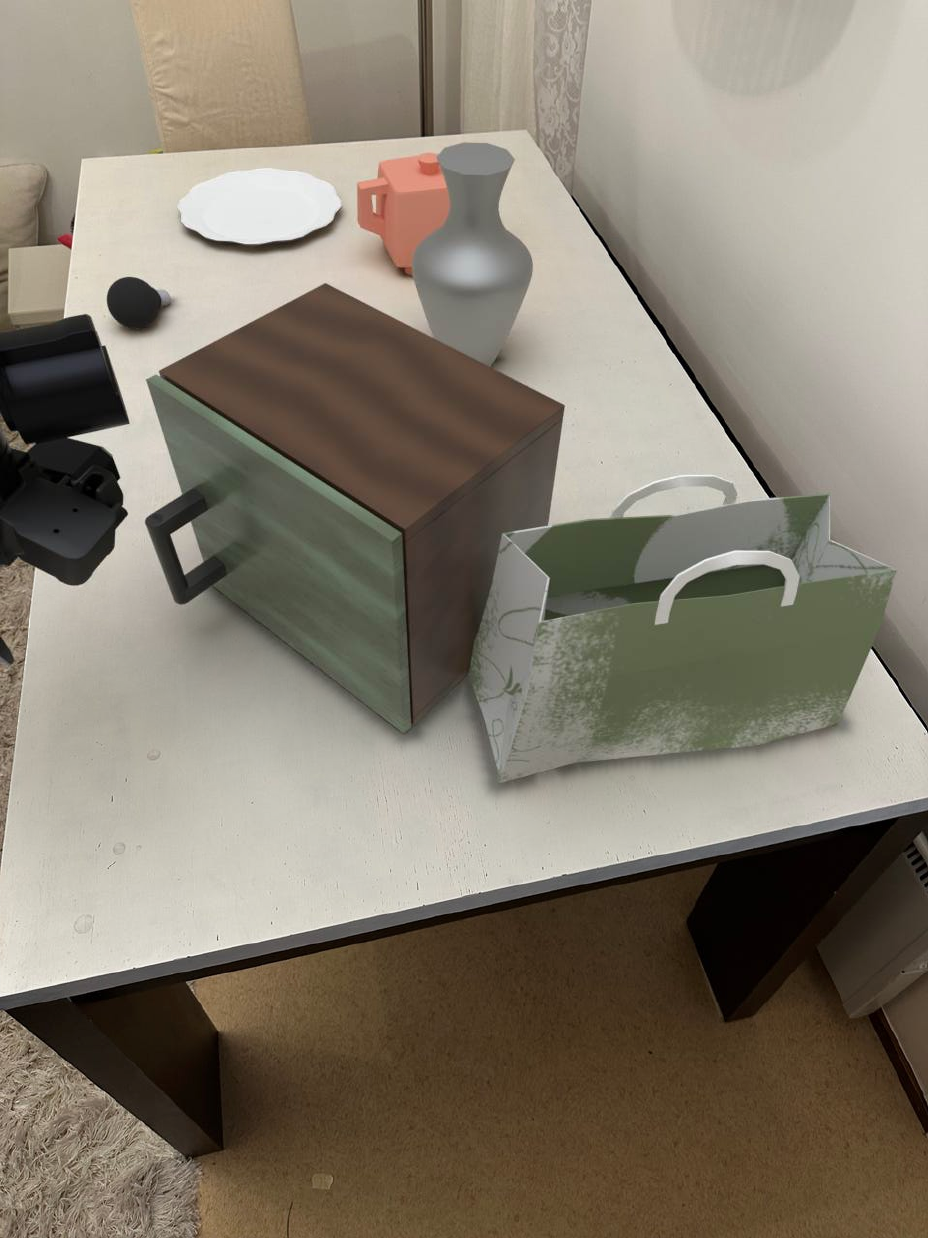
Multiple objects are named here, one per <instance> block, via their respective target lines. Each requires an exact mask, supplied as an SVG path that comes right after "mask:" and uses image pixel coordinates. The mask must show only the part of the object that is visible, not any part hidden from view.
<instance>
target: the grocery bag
mask: <svg viewBox="0 0 928 1238" xmlns="http://www.w3.org/2000/svg"><path fill="white" fill-rule="evenodd" d="M683 487H684V488H685V487H686V488H690V487H708V488H711V489H714V490H717V491H721V492H722V494H723V495H724V500H723V504H721V505H715V506H710V507H706V508H700V509H696V510H691V511H686V512H685V511H684V512H680V513H674V514H659V515H639V516H624V515H625V513H626V512H627V511H628V510H629V509H630V508H631V507H632V506H633V505H634V504H635V503H636V502H638V501H640V500H642V499H644V498H646V497H649V496H651V495H654V494H656V493H658V492H664V491H669V490H673V489H678V488H683ZM736 489H737V488H736V487H735V485H734V482H733V481H730V480H727V479H726V478H722V477H720V476H717V475H714V474H678V475H675V476H671V477H666V478H662V479H659V480H653V481H652V482H650V483H648V484H646V485H644V486H642V487H639V488H638V489H635V490H633V491H631V492H628V493H627V494H626V495H625V496H624V497H623V498H622V499H621V501H620V502H618V504H617V505H616V506H615V507H614V508H613V509H612V510H611V513H610V516H609V517H603V518H587V519H581V520H575V521H574V520H573V521H569V522H563V523H557V524H556V523H555V524H550V525H549V524H548V526H543V527H537V528H531V529H525V530H519V531H513V532H507V533H502V537H501V542H500V547H499V552H498V557H497V562H496V566H495V571H494V576H493V581H492V586H491V589H490V592H489V596H488V599H487V603H486V606H485V610H484V613H483V616H482V620H481V623H480V627H479V630H478V633H477V635H476V638H475V640H474V644H473V651H472V657H471V663H470V669H469V674H468V677H469V680H470V683H471V686H472V688H473V691H474V694H475V697H476V700H477V702H478V705H479V707H480V710H481V714H482V716H483V719H484V723H485V727H486V730H487V734H488V739H489V742H490V746H491V750H492V754H493V757H494V758H493V759H494V762H495V764H496V769H497V773H498V774H497V775H498V776H497V784H503V783H507V782H510V781H514V780H517V779H522V778H525V777H528V776H533V775H536V774H540V773H543V772H546V771H551V770H554V769H557V768H561V767H564V766H568V765H569V766H570V765H573V764H577V763H586V762H596V761H607V760H617V759H627V758H636V757H637V758H638V757H645V756H658V755H665V754H676V753H687V752H698V751H709V750H719V749H731V748H743V747H744V748H745V747H753V746H755V747H756V746H758V745H763V744H767V743H771V742H774V741H779V740H782V739H785V738H790V737H793V736H797V735H802V734H804V733H809V732H812V731H813V732H814V731H816V730H820V729H824V728H827V727H831V726H836V725H838V724H839V722H840V721H841V718H842V715H843V714H844V711H845V709H846V707H847V704H848V703H849V700H850V698H851V696H852V694H853V691H854V689H855V687H856V685H857V682H858V681H859V677H860V675H861V674H862V670H863V668H864V666H865V663H866V661H867V659H868V656H869V654H870V652H871V650H872V647H873V645H874V642H875V640H876V637H877V635H878V633H879V631H880V628H881V627H882V623H883V619H884V617H885V616H884V615H885V613H886V609H887V606H888V602H889V600H890V599H889V598H890V595H891V592H892V589H893V586H894V582H895V579H896V576H897V572H898V569H896V568H894V567H892V566H890V565H888V564H885V563H883V562H881V561H879V560H876V559H874V558H872V557H871V556H867V555H865V554H863V553H861V552H858V551H856V550H854V549H852V548H850V547H848V546H846V545H843V544H841V543H839V542H836V541H835V540H832V539H831V496H830V495H831V494H830V493H815V494H804V495H793V496H792V495H791V496H781V497H780V496H779V497H769V498H756V499H745V500H742V501H737V498H738V492H737V490H736Z"/></svg>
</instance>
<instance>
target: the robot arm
mask: <svg viewBox="0 0 928 1238" xmlns="http://www.w3.org/2000/svg"><path fill="white" fill-rule="evenodd" d="M0 415H1V417H2V419H3V421H4V423H5V426H6V427H7V428H8V430H9V431H10V432H11V433H12V432H18V434H19V436H20V438H21V439H22V441H23V444H25V445H30V444H33V445H32V446H31V447H30V448H29V449H28V450H27V451H24V450H21V449H16V448H14V447H13V448H12V447H11V446H10V444H9V441H8V439H7V438H6V436H5V433H4V431H3V429H2V427H1V426H0V569H1V568H2V567H3V566H6V567H11V565H13V563H14V562H15V561H16V560H17V559H18V558H19V559H20V560H21V562H24V563H25V564H28V565H30V566H32V567H34V568H35V569H38V570H40V571H42V572H44V573H45V574H48V575H50V576H52V577H54V578H55V579H57V581H59V582H61V583H62V584H64V585H66V586H73V587H74V586H75V587H76V586H81V585H84V584H86V583H87V581H88V580H90V578H91V577H92V576H93V574H94V572H95V571H96V570H97V568H98V567H99V566H100V565H101V564H102V562H103V561H104V560H105V559H106V558H107V557H108V556H109V555H111V553H112V552H113V551H114V549H115V546H116V530H117V528H119V526H120V525H121V524H122V523H123V521H125V519H126V518H127V516H129V512H128V510H127V509H126V508H125V507H124V493H123V490H122V488H121V486H120V484H119V480H121V475H120V473H119V470H118V466H117V463H116V462H115V459H114V456H113V454H112V453H111V452H110V451H108V450H107V449H106V448H105V447H103V446H101V445H98V444H94V443H90V442H86V441H82V440H78V439H73V438H71V437H78V436H81V435H85V434H90V433H95V432H99V431H104V430H109V429H113V428H118V427H123V426H128V425H130V418H129V415H128V412H127V407H126V404H125V401H124V398H123V395H122V392H121V389H120V385H119V383H118V379H117V377H116V372H115V369H114V367H113V363H112V361H111V358H110V355H109V352H108V349H107V346H106V345H105V344H104V345H102V342H101V339H100V336H99V333H98V331H97V330H96V327H95V324H94V321H93V318H92V316H91V315H89V314H88V313H82V314H78V315H72V316H68V317H65V318H62V319H60V320H57V321H55V322H51V323H47V324H46V323H45V324H42V325H35V326H30V327H24V328H20V329H14V330H8V331H3V332H0ZM15 662H16V660H15V658H14V655H13V653H12V650H11V649H10V647H9V646H8V645H7V643H6V641H5V640H4V639H3V638H2V636H1V635H0V663H3V664H6V665H9V666H12V665H13V664H14V663H15Z"/></svg>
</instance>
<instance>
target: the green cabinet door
mask: <svg viewBox="0 0 928 1238" xmlns="http://www.w3.org/2000/svg"><path fill="white" fill-rule="evenodd" d="M145 381H146V384H147V387H148V390H149V391H148V392H149V394H150V397H151V401H152V405H153V407H154V410H155V414H156V416H157V420H158V422H159V425H160V428H161V431H162V436H163V438H164V441H165V444H166V448H167V450H168V454H169V457H170V460H171V463H172V467H173V470H174V473H175V476H176V479H177V482H178V485H179V489H180V492H181V495H179V496H178V497H176V498H174V499H172V501H170V502H168V503H167V504H165V505H163V506H162V507H160V508H159V509H157V510H155V511H153V512H152V513H150V514H149V515H148V516H147V517H145V520H144V524H145V526H146V529H147V532H148V535H149V538H150V540H151V543H152V545H153V548H154V550H155V554H156V556H157V558H158V562H159V564H160V566H161V570H162V572H163V575H164V577H165V580H166V583H167V585H168V588H169V591H170V593H171V596H172V599H173V601H174V602H175V604H177V605H186V604H188V603H190V602H191V601H193V600H194V599H196V598H197V597H198V596H199V595H201V594H202V593H204V592H205V591H206V590H208V589H210V588H211V587H212V588H215V590H217V591H219V592H220V593H221V594H222V595H224V596H225V597H226V598H227V599H229V600H230V601H231V602H233V603H234V604H235V605H236V606H238V607H239V608H241V609H242V610H243V611H244V612H245V613H247V614H248V615H250V616H251V617H252V618H254V619H255V620H256V621H257V622H259V623H260V624H261V625H262V626H263V627H265V628H266V629H268V630H269V631H270V632H271V633H272V634H274V635H275V636H277V637H278V638H279V639H280V640H282V641H283V642H285V644H287V645H288V646H290V647H291V648H292V649H294V650H295V651H296V652H297V653H299V654H300V655H301V656H303V657H304V658H305V659H306V660H308V661H309V662H310V663H312V664H313V665H314V666H315V667H316V668H318V669H319V670H321V671H322V672H323V673H324V674H326V676H328V677H330V678H331V679H332V680H334V681H335V682H336V683H337V684H339V685H340V686H341V687H342V688H344V689H345V690H347V691H348V692H349V693H350V694H352V695H353V696H354V697H355V698H357V699H358V700H359V701H360V702H362V703H363V704H365V705H366V706H367V707H369V708H370V709H371V710H372V711H373V712H375V713H376V714H377V715H379V716H380V717H382V719H384V720H385V721H386V722H387V723H389V724H390V725H392V726H393V727H394V728H396V729H397V730H398V731H399V732H401V733H402V734H406V732H408V731H409V730H410V729H411V727H412V724H411V710H410V689H409V668H408V647H407V626H406V605H405V584H404V563H403V542H402V533H401V532H399V531H398V530H396V529H395V528H393V527H392V526H390V525H389V524H387V523H386V522H384V521H382V520H381V519H379V518H378V517H376V516H375V515H373V514H372V513H370V512H368V511H367V510H365V509H364V508H362V507H361V506H359V505H358V504H356V503H355V502H353V501H351V500H350V499H348V498H347V497H345V496H344V495H342V494H341V493H339V492H338V491H336V490H334V489H333V488H331V487H330V486H328V485H327V484H325V483H324V482H322V481H321V480H319V479H317V478H316V477H314V476H313V475H311V474H310V473H308V472H307V471H305V470H303V469H302V468H300V467H299V466H297V465H296V464H294V463H293V462H291V461H290V460H288V459H286V458H285V457H283V456H282V455H280V454H279V453H277V452H276V451H274V450H273V449H271V448H269V447H268V446H266V445H265V444H263V443H262V442H260V441H259V440H257V439H256V438H254V437H252V436H251V435H249V434H248V433H246V432H245V431H243V430H242V429H240V428H238V427H237V426H235V425H234V424H232V423H231V422H229V421H228V420H226V419H225V418H223V417H221V416H220V415H218V414H217V413H215V412H214V411H212V410H211V409H209V408H208V407H206V406H204V405H203V404H201V403H200V402H198V401H197V400H195V399H194V398H192V397H191V396H189V395H187V394H186V393H184V392H183V391H181V390H180V389H178V388H177V387H175V386H173V385H172V384H170V383H169V382H167V381H166V380H164V379H163V378H161V377H160V375H158V374H154V375H152V376H150V377H148V378H146V379H145ZM189 523H190V524H191V527H192V529H193V534H194V536H195V540H196V542H197V546H198V550H199V552H200V556H201V558H202V563H200V564H198V565H197V566H196V567H194V568H193V569H191V570H190V571H188V572H187V573H185V571H184V570H183V566H182V564H181V561H180V558H179V554H178V552H177V550H176V546H175V544H174V541H173V537H172V534H174V533H175V532H177V531H178V530H180V529H181V528H182V527H185V526H186V525H187V524H189Z"/></svg>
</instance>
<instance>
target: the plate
mask: <svg viewBox="0 0 928 1238" xmlns="http://www.w3.org/2000/svg"><path fill="white" fill-rule="evenodd" d="M342 207H343V200H342V199H341V198H340V197H339V196H338V193H337V189H336V187H334V186H333V184H332V183H330V182H329V181H325V180H322V179H319V178H317V177H315V176H314V175H312V174H310V173H307V172H304V171H301V170H299V171H298V170H284V169H280V168H274V167H261V168H254V169H250V170H237V171H236V170H235V171H234V170H233V171H229V172H225V173H222V174H220V175H217V176H216V177H214V178H211V179H208V180H205V181H202V182H198V183H197V184H196V185H194V186H193V187H190V189H189V191H188V192H187V194H186V195H185V196H184V197H183V198H182V199H180V200H179V201H178V204H177V206H176V208H177V210H178V212H179V213H180V223H181V224H182V225H183V226H184V228H186V229H189V230H190V231H193V232H195V233H198V235H200V236H202V237H203V238H204V239H206V240H209V241H213V242H217V243H229V244H236V245H242V246H246V247H247V246H250V247H251V246H253V247H254V246H257V247H258V246H259V247H260V246H264V245H269V244H277V243H285V242H287V243H289V242H294V241H297V240H301V239H303V238H305V237H306V236H308V235H310V234H311V233H313V232H317V231H319V230H323V229H325V228H327V227H328V226H329V225H330V224H332V223H333V222H334V219H335V216H336V214H337V213H338V212H340V210H341V209H342Z"/></svg>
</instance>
